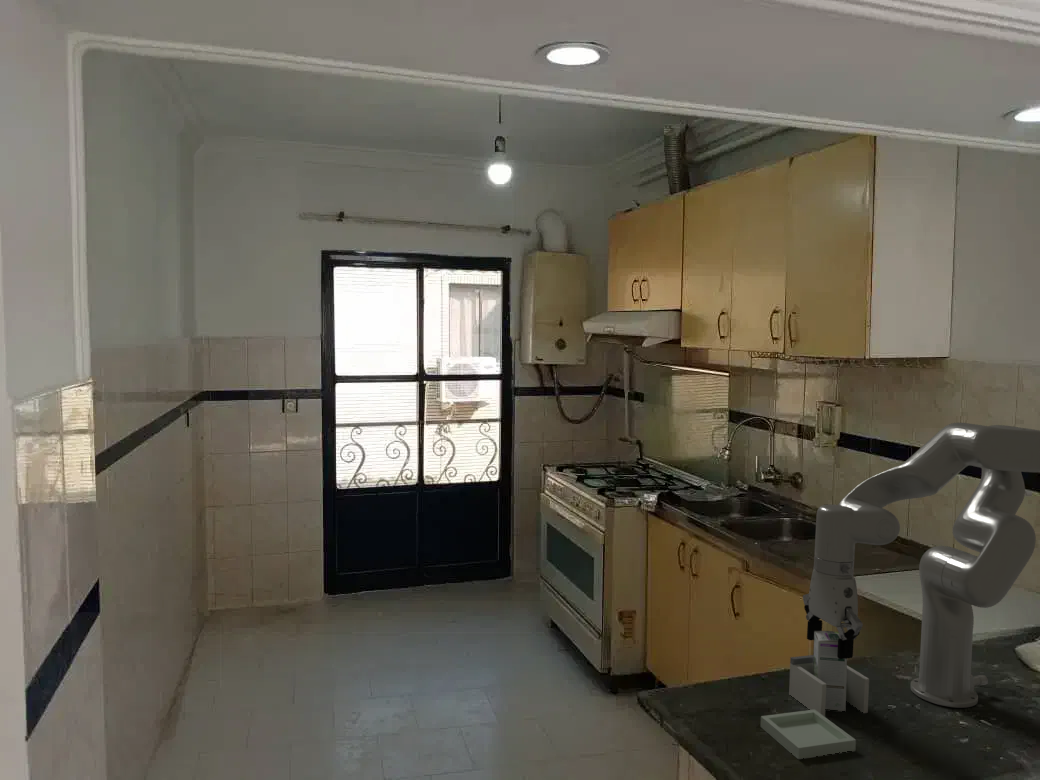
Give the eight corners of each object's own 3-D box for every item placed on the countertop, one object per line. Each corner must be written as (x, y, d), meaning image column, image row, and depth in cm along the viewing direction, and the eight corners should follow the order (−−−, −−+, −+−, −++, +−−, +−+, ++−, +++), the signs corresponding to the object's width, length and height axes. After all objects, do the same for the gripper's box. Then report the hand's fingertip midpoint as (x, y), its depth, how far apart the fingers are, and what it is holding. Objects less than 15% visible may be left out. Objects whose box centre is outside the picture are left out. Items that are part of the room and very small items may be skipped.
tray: (814, 719, 153) (814, 709, 152) (855, 751, 141) (855, 739, 141) (760, 726, 149) (760, 716, 149) (798, 759, 138) (798, 748, 138)
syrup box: (846, 712, 156) (849, 642, 155) (815, 709, 157) (818, 639, 156) (840, 699, 161) (843, 631, 160) (810, 696, 163) (813, 629, 162)
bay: (833, 689, 166) (835, 652, 165) (867, 712, 156) (869, 673, 155) (789, 695, 163) (790, 657, 163) (820, 718, 153) (822, 678, 152)
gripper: (879, 578, 150) (874, 664, 151) (822, 554, 167) (818, 631, 168) (846, 580, 148) (841, 667, 149) (792, 555, 165) (787, 634, 166)
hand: (829, 648), depth 158 cm, fingers open, 9 cm apart
